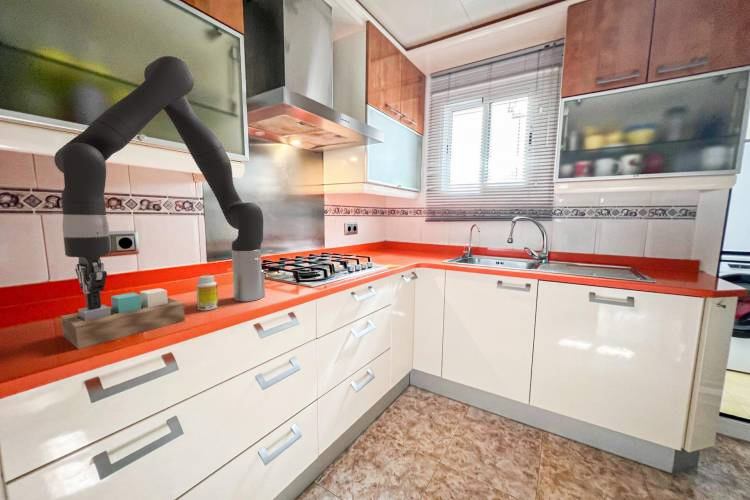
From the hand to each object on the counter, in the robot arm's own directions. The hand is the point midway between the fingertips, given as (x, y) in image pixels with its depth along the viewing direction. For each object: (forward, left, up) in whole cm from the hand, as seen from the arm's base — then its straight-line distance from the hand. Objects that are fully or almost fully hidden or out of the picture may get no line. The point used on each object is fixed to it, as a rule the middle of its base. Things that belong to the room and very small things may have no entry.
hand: (94, 308), depth 69 cm
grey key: (0, 0, -4) cm, 4 cm away
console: (-6, 0, -7) cm, 9 cm away
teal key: (-6, 0, -2) cm, 7 cm away
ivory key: (-12, 0, -2) cm, 12 cm away
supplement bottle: (-26, 0, -7) cm, 27 cm away
